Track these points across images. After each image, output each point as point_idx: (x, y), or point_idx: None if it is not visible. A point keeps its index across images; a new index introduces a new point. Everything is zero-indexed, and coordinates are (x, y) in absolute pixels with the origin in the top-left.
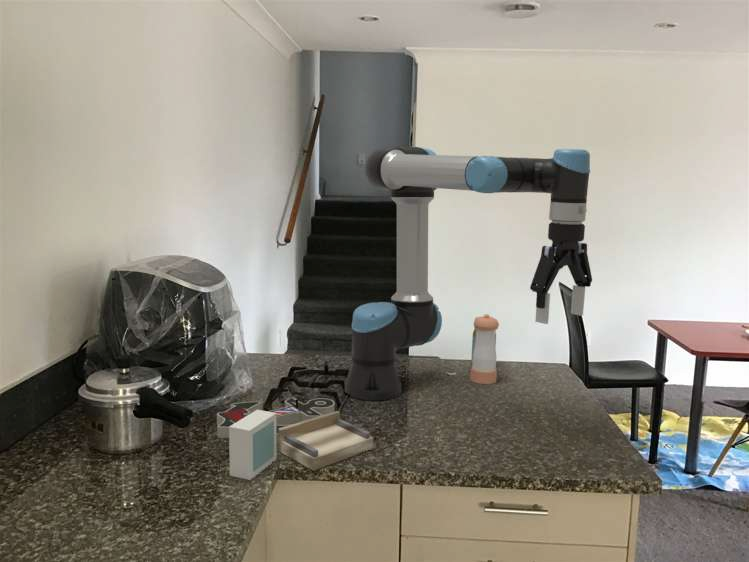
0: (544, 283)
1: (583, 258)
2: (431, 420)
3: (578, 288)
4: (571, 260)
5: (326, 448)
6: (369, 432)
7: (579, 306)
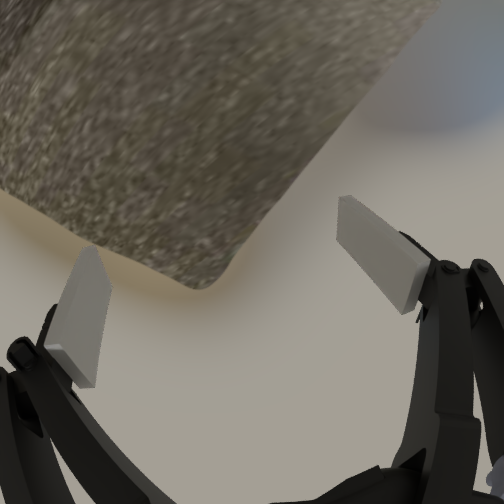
0: (44, 436)
1: (489, 428)
2: (70, 21)
3: (403, 286)
4: None
5: None
6: None
7: (354, 249)
